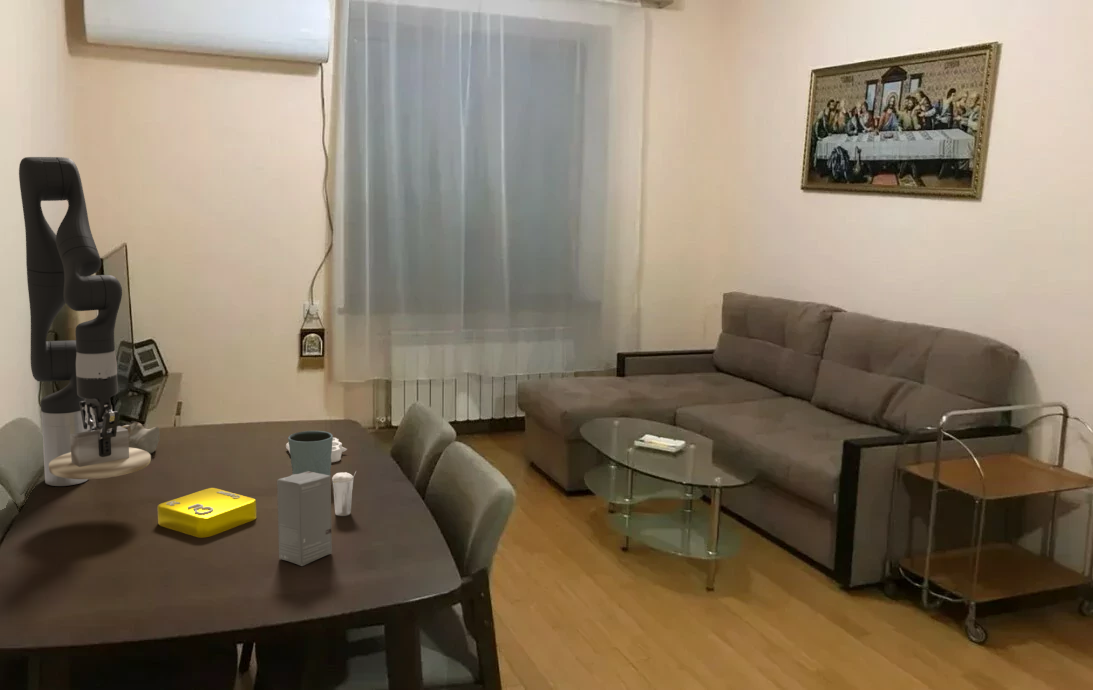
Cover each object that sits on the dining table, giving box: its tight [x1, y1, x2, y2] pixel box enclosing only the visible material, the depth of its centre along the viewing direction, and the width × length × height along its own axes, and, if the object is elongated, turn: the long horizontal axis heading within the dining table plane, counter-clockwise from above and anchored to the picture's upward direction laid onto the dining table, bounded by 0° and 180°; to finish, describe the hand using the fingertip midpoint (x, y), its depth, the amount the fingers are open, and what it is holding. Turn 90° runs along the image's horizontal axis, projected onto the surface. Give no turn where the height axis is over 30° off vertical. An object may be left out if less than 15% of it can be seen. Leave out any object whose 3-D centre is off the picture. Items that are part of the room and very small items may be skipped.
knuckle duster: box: [285, 437, 348, 463], centre depth 240 cm, size 3×18×15 cm
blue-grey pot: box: [287, 430, 334, 477], centre depth 214 cm, size 10×10×12 cm
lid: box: [49, 425, 152, 480], centre depth 187 cm, size 19×19×7 cm
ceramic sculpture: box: [121, 420, 160, 454], centre depth 236 cm, size 11×9×15 cm
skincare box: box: [276, 471, 333, 567], centre depth 171 cm, size 8×7×16 cm
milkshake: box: [331, 470, 357, 517], centre depth 195 cm, size 4×5×10 cm
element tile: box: [157, 487, 257, 538], centre depth 189 cm, size 15×15×5 cm
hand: (100, 453), depth 187 cm, fingers closed on lid, 4 cm apart
